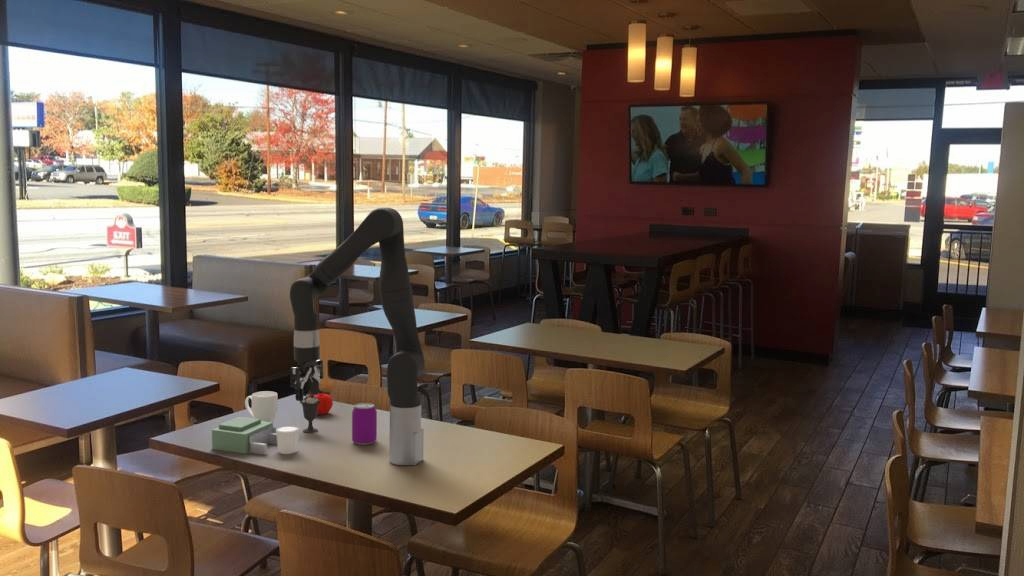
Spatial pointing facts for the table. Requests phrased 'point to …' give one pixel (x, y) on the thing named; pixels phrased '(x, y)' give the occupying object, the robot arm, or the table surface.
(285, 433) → the white cup
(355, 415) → the beverage can
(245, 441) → the green drawer box
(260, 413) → the mug
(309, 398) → the sundae
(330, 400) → the apple
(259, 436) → the chute bracket
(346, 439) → the table surface
